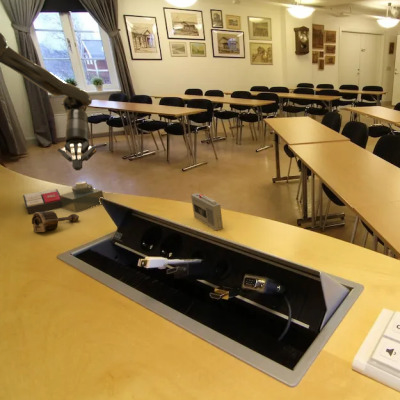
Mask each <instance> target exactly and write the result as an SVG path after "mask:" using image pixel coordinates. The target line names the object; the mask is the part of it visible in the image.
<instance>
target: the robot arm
mask: <svg viewBox="0 0 400 400" xmlns="http://www.w3.org/2000/svg"><path fill="white" fill-rule="evenodd" d="M0 64H2V65H4V66H6V67H8V68H9V69H10V70H12V71H14V72H16V73H18V74H19V75H20V76H22V77H24V78H26V79H27V80H28V81H30V82H31V83H32V84H34V85H36V86H37V87H39V88H40V89H42V90H44V91H45V92H46V93H49V94H50V95H52V96H54V97H62V96H64V98H63V100H62V106H63V109H64V112H65V114H66V124H65V143H64V145H63V147H62V148H60V147H59V148H57V152H58V153H59V154H60V155H61V156H62V157H63V158H64V159H66V160H67V161H68V162H69V163H72V168H73V169H74V171H76V172H77V171H81V170H82V169H83V162H85V161H86V162H87V161H89V160H90V159H91V158H92V157H93V156H94V155H95V154H96V153H97V148H96V147H95V146H92V145H91V144H90V129H89V117H88V112H86V111H85V110H84V109H85V108H87V107H89V106H90V105H92V102H93V99H92V97H91V96H90V94H89V93H88V92H87V91H85V89H82V88H80V87H77V86H75V85H73V84H70V83H68V82H65V81H64V80H62V79H60V77H58V76H56V74H55V75H54V74H53V73H52V72H50V71H49V70H47V69H45V68H44V67H42V66H40V65H39V64H36V63H35V62H33V61H32V60H29V59H28V58H26V57H24V56H23V55H22V54H20V53H18V52H17V51H15V50H14V49H13V48H11V47H10V46H9V45H8V42H7V39H6V37H5V36H4V35H3V34H2V32H0ZM67 152H68V153H69V154H70V155H71V156H70V155H69V154H67Z"/></svg>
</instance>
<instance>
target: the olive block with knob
mask: <svg viewBox="0 0 400 400" xmlns="http://www.w3.org/2000/svg"><path fill="white" fill-rule="evenodd" d="M87 186H88V187H85V188H77V187H76V185H74V186H73V187H71V191H70V192H66V193H63V194H60V195H59V197H60V201H61V204H62V207H63V208H62V209H64V210H67V211H70V212H73V213H75V214H76V213H79V212H82V211H85V210H89V209H92V208H94V207H93V206H95V207H97V206H96V205H98V206H100V205H102V204H100V202H99V198H100V197H103V198H104V199H105V197H104V193H103V190H102V189H97V188H94V187H93V184H90V183H87ZM91 207H92V208H91ZM88 208H89V209H88Z"/></svg>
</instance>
